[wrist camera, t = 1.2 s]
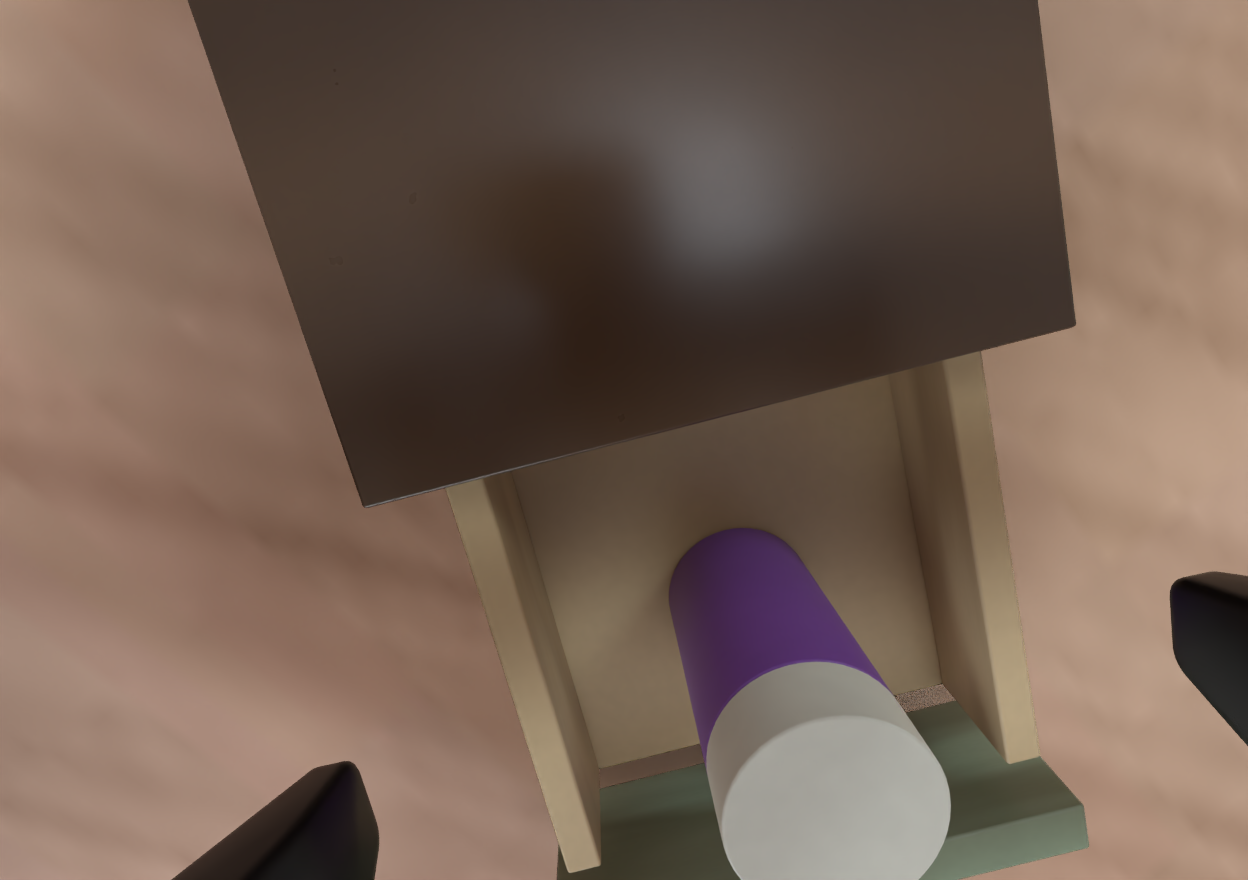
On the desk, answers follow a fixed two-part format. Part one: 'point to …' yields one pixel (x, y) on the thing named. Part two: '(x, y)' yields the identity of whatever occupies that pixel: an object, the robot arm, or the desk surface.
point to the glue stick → (798, 723)
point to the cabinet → (635, 208)
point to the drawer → (840, 564)
